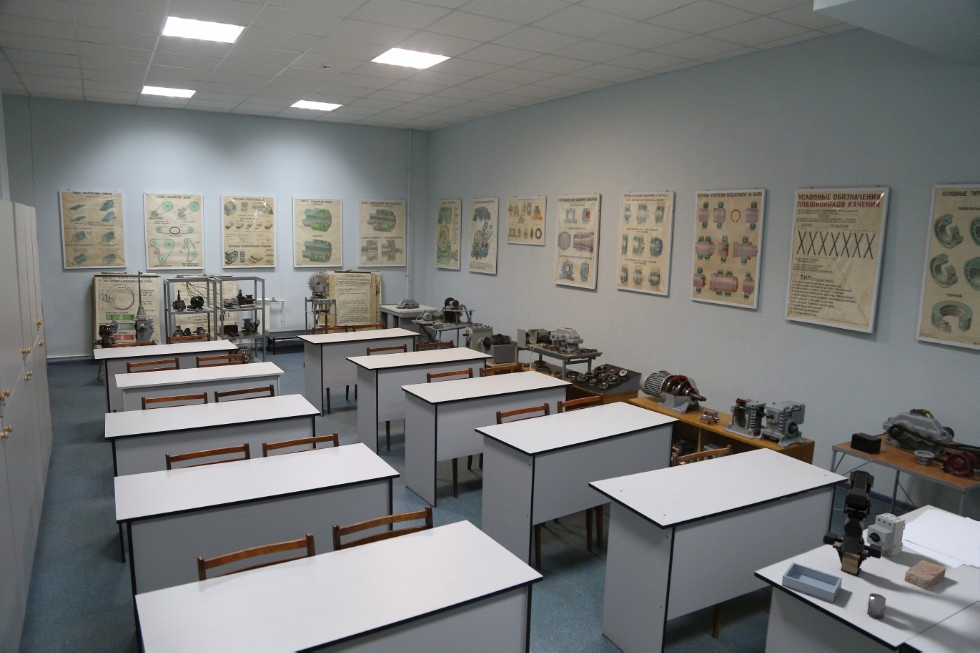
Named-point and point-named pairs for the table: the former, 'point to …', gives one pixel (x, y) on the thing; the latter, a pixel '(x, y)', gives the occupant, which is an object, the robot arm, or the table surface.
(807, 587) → the tote
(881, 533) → the circuit breaker
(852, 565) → the walnut cube
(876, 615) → the steel cylinder
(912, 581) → the brick
